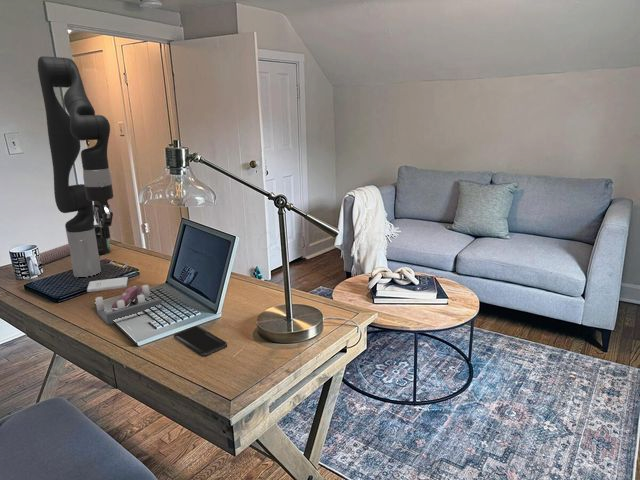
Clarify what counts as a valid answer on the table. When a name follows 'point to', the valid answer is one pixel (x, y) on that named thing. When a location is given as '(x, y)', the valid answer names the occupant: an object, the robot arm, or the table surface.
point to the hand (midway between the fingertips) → (105, 238)
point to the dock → (128, 310)
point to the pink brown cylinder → (54, 254)
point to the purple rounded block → (128, 295)
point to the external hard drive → (107, 284)
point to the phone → (200, 341)
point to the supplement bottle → (101, 242)
